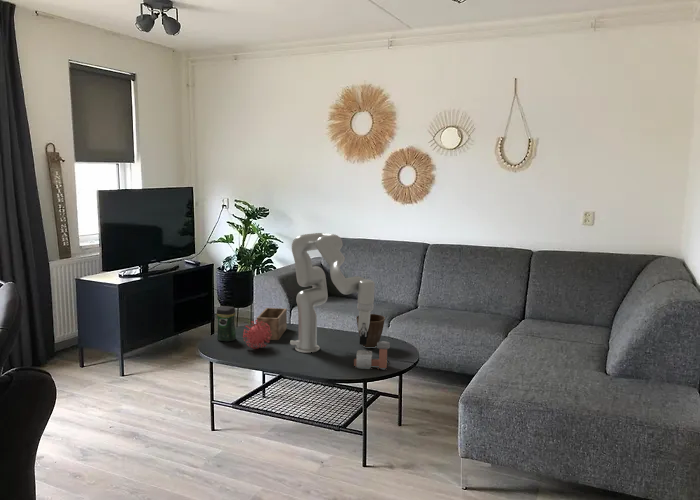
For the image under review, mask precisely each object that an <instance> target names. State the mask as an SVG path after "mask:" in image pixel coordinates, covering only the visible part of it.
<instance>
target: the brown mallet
mask: <svg viewBox="0 0 700 500" xmlns="http://www.w3.org/2000/svg"><path fill="white" fill-rule="evenodd" d="M390 347H391V343H390V342H389V341H385V340H382V341H381V340H380V341H379V342H377V348H376V349H379V352H378V354H379V355H378V356H379V357H378V359H376V358H372V361H371V366H379V368H387V367H388V366H387V365H388V364H387V360H388V350H389V349H390ZM356 361H357V357H356V358H354V359H353V367H354V366H356ZM379 368H378V369H379ZM387 369H388V368H387Z"/></svg>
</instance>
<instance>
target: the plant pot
mask: <svg viewBox="0 0 700 500" xmlns="http://www.w3.org/2000/svg"><path fill="white" fill-rule="evenodd" d="M385 320H386V317H385V316H383V315H380V314H376V313H375V314H374V313H370V324H369V329H368V338H367V343H366V345H363V346H365V347H375V346H377V342H380V341H381V337H382V334H383V330H384V326H385ZM358 321H359V315H357V316H356V326H357V327H358ZM357 331H358V330H357ZM360 334H361V330H360V331H358V335H359V337H360ZM363 346H362V347H363Z"/></svg>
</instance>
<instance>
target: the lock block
mask: <svg viewBox="0 0 700 500" xmlns="http://www.w3.org/2000/svg"><path fill="white" fill-rule="evenodd" d="M356 358H357V361H356V367H371V361H372V359H373V350H364V349H362V350H361V349H358V350H357V351H356ZM356 367H355V368H356Z"/></svg>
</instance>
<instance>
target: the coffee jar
mask: <svg viewBox="0 0 700 500" xmlns="http://www.w3.org/2000/svg"><path fill="white" fill-rule="evenodd" d="M235 316H236V308H235V306H228V305H226V306H225V305H220V306H218V307H217V309H216V317H217V333H216V334H217V335H216V336H217V338H216V339H217V341H220V342H234V341H235V340H236V339H237V331H236V325H235V323H236V322H235Z"/></svg>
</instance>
